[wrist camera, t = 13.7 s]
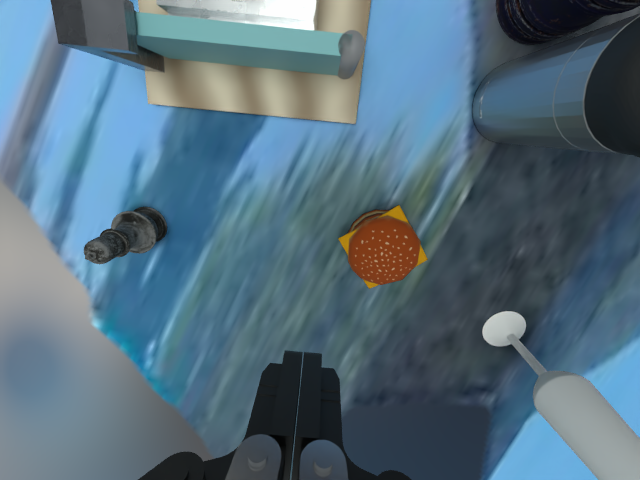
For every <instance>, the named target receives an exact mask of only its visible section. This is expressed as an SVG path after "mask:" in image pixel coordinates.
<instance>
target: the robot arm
mask: <svg viewBox="0 0 640 480" xmlns="http://www.w3.org/2000/svg"><path fill="white" fill-rule="evenodd" d="M472 111H473V119H474V123H475V126H476V127H477V129H478V131H479V132H480V133H481V134H482V135H483V136H484V137H485V138H487V139H488V140H490V141H493V142H496V143H504V144H514V145H524V146H535V147H546V148H557V149H569V150H580V151H594V152H605V153H616V154H628V155H634V156H637V157H640V14H637V15H634V16H632V17H629V18H626V19H624V20H621V21H618V22H616V23H613V24H611V25H608V26H605V27H602V28H600V29H597V30H594V31H591V32H589V33H586V34H583V35H580V36H578V37H575V38H572V39H570V40H567V41H564V42H561V43H559V44H556V45H553V46H550V47H548V48H545V49H542V50H539V51H537V52H534V53H531V54H528V55H526V56H523V57H520V58H517V59H515V60H512V61H509V62H507V63H504V64H502V65H500V66H499V67H497V68H495V69H494V70H493V71H492V72H490V73H489V74H488V75H487V76H486V77H485V79H484V80H483V81H482V82H481V84H480V86H479V88H478V90H477V91H476V94H475V97H474V101H473V108H472ZM302 353H303V352H296V351H285V352H284V358H283V363H282V364H276V363H270V364H269V365H268V366H267V367H266V369H265V370H264V371H263V372H262V375H261V379H260V383H259V387H258V390H257V395H256V398H255V402H254V405H253V409H252V413H251V417H250V421H249V424H248V428H247V432H246V435H245V437H244V439H243V441H242V442H241V444H240V445H239V446H238V447H237V448H236V449H235V450H234V451H232V452H231V453H229V454H227V455H225V456H223V457H220V458H216V459H212V460H208V461H204V462H203V461H202V459H201V458H200V457H199V456H198V455H197V454H195V453H192V452H180V453H176V454H174V455H172V456H170V457H168V458H167V459H165V460H164V461H163V462H161V463H160V464H158V465H157V466H156V467H155V468H153V469H152V470H150V471H149V472H148V473H146V474H145V475H144V476H142V477H141V478H140V479H138V480H290V472H291V462H292V453H293V444H294V434H295V425H296V416H297V406H298V397H299V387H300V376H301V365H302ZM321 363H322V354H319V353H308V352H304V358H303V368H302V377H301V387H300V397H299V406H298V416H297V426H296V435H295V447H294V458H293V469H292V480H411V479H410V478H409V477H408V476H406V475H404V474H403V473H401V472H398V471H394V470H389V471H384V472H382V473H381V474H379V475H378V476H376V475H374V474H372V473H369V472H367V471H365V470H363V469H361V468H359V467H358V466H356V465H355V464H354V463H353V462H352V461H351V460H350V459H349V458H348V456H347V454H346V453H345V450H344V447H343V442H342V422H341V404H340V381H339V378H338V376H337V374H336V372H335V370H334V369H333V368H322V367H321Z"/></svg>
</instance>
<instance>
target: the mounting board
mask: <svg viewBox="0 0 640 480" xmlns="http://www.w3.org/2000/svg"><path fill="white" fill-rule="evenodd" d="M370 3H371V0H319V8H318V21H317V31H325V32H334V33H345V32H346V31H349V30H355V31H358V32H359V33H360V34H361V35H362V36H363V38H364V41H365V44H366V36H367V28H368V19H369V11H370ZM138 5H139V12H142V13H151V14H161V15H168V12H166V11H165V10H164V9H162V8H161V7H159V6H158V5H157V3H156V0H138ZM364 52H365V49H364ZM364 52H363V54H362V56H361V58H360V61H359V63H358V65H357V67H356V69H355V71H354V73H353V75H352V76H351V77H350V78H348V79H341V78H339V77H338V76H336V75H326V74H317V73H307V72H297V71H287V70H278V69H268V68H258V67H248V66H238V65H229V64H219V63H209V62H199V61H190V60H180V59H170V58H167V57H164V68H165V73H163V72H153V71H145V76H146V86H147V96H148V104H154V105H164V106H175V107H185V108H195V109H205V110H216V111H226V112H236V113H247V114H257V115H267V116H277V117H288V118H298V119H308V120H318V121H329V122H339V123H349V124H356V117H357V109H358V101H359V92H360V84H361V76H362V68H363V60H364Z"/></svg>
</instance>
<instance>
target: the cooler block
mask: <svg viewBox="0 0 640 480" xmlns="http://www.w3.org/2000/svg"><path fill="white" fill-rule="evenodd" d="M156 3H157V5H158V6H159V7H161V8H162V9H164V10H165V11H166V12H168V15H171V16H180V17H190V18H200V19H209V20H219V21H228V22H238V23H248V24H257V25H267V26H277V27H286V28H296V29H305V30H315V31H317V21H318V8H319V0H156ZM51 4H52V10H53V15H54V21H55V26H56V32H57V37H58V43H59V44H62V45H65V46H68V47H71V48H74V49H77V50H81V51H84V52H87V53H90V54H93V55H97V56H100V57H103V58H106V59H109V60H112V61H116V62H119V63H122V64H125V65H128V66H132V67H135V68H138V69H141V70H144V71H153V72H163V73H165V68H164V56H162V55H160V54H158V53H155V52H153V51H151V50H148V49H146V48H144V47H142V46H139V45H137V36H136V26H135V16H134V12H136V11H134V7H133V3H132V2H130V1H129V0H51Z"/></svg>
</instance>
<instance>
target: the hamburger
mask: <svg viewBox="0 0 640 480" xmlns="http://www.w3.org/2000/svg"><path fill="white" fill-rule="evenodd" d="M338 239H339V241H340V242H341V244H342V246H343V248H344V249H345V251H346V253H347V254H348V262H349V264H350V266H351V268H352V270H353V271H354V272H355V273H356V274H357V275H358V276H359V277H360V278H362V279H363V280H364V282H365V283H366V285H367V286H368V288H369V289H370V288H372V287H375V286H377V285H383V284H387V283H391V282H395V281H399V280H402V279H403V278H404V277H405V276H406V275H407V274H408V273H409V272H410V271H411V270H412V269H413V268H414V267H416V266H417V265H419V264H421V263H423V262H424V261H426V260H428V259H427V257H426V255H425V253H424V251H423V249H422V247H421V245H420V244H421V241H420V240H419V238H418V237H417V235H416V233H415V232H414V230H413V228H412V227H411V225H410V223H409V222H408V220H407V218H406V217H405V215H404V213H403V211H402V209H401V208H400V206H399V205H398V206H396V207H395V208H393V209H391V210H390V211H389V210H373V211H370V212H368V213H365V214H363V215H362V216H360V217H359V218H358V219H357V220H356V221H355V222H353V224H352V226H351V228H350V230H349V232H348V234H346V235H344V236H342V237H340V238H338Z"/></svg>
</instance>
